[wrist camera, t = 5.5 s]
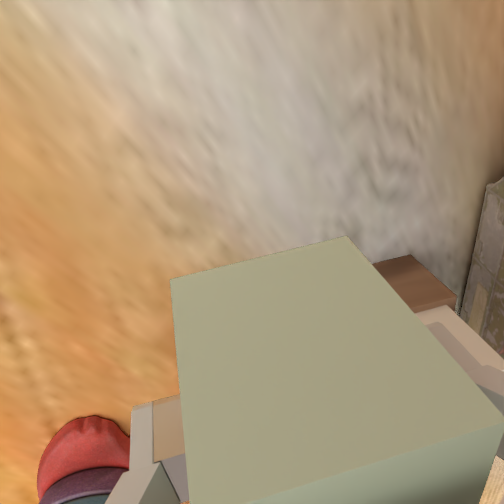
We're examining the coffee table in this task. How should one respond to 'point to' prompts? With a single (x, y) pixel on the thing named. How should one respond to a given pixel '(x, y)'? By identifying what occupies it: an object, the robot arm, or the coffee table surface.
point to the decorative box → (488, 273)
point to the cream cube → (463, 335)
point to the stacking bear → (83, 462)
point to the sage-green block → (322, 388)
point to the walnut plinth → (415, 284)
